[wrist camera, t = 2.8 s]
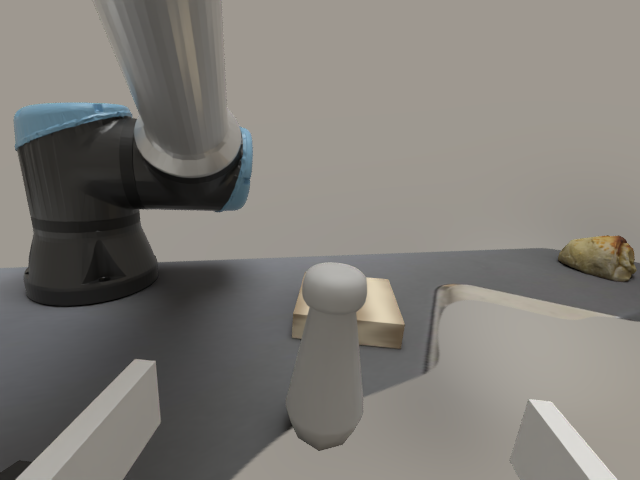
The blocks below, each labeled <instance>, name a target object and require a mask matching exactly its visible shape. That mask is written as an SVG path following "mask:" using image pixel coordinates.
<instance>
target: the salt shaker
mask: <svg viewBox="0 0 640 480" xmlns="http://www.w3.org/2000/svg"><path fill="white" fill-rule="evenodd" d="M302 295H303V299H304V301H305V302H306V304H307V306H309V311H308V315H307V319H306V323H305V327H304V331H303V335H302V339H301V343H300V347H299V351H298V355H297V359H296V363H295V367H294V371H293V374H292V378H291V382H290V386H289V390H288V394H287V397H286V408H287V412H288V415H289V418H290V421H291V423H292V425H293V428H294V430H295V432H296V434H297V436H298V438H300V439H301V440H303V441H304V442H306V443H307V444H309V445H311V446H312V447H314V448H315V449H317V450H318V451H320V450H324V449H328V448H331V447H335V446H339V445H342V444H343V443H344V442H345V441H346V440H347V438H348V437H349V436H350V435H351V433H352V432H353V431H354V429H355V428H356V426H357V424H358V423H359V421H360V419H361V417H362V414H363V390H362V377H361V365H360V352H359V340H358V327H357V315H356V312H357V311H358V310H359V309H360V308H362V307H363V305H364V303H365V302H366V297H367V279H366V276H365V275H364V274H363V273H362V272H361V271H359V270H358V269H357V268H355V267H353V266H350V265H347V264H341V263H328V262H327V263H320V264H317V265H314V266H312V267H311V268H310V269H308V270H307V271H306V274H305V276H304V280H303V284H302Z"/></svg>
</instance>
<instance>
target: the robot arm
mask: <svg viewBox="0 0 640 480" xmlns="http://www.w3.org/2000/svg"><path fill="white" fill-rule="evenodd" d="M92 1H93V3H94V5H95V8H96V10H97V13H98V15H99V18H100V20H101V22H102V25H103V27H104V29H105V32H106V34H107V37H108V39H109V42H110V44H111V46H112V49H113V51H114V53H115V56H116V58H117V61H118V63H119V66H120V68H121V71H122V73H123V75H124V77H125V80H126V82H127V85H128V87H129V90H130V92H131V95H132V97H133V99H134V102H135V104H136V107H137V109H138V111H139V116H138V118H137V119H133V118H132V114H131V112H130V110H129V109H128V108H127V107H126V106H122V105H116V104H105V103H104V104H103V103H98V104H97V103H47V104H36V105H30V106H26V107H23V108H21V109H20V110H18V111H17V112H16V114H15V116H14V130H15V141H16V144H15V150H16V151H17V152H18V156H19V162H20V166H21V171H22V176H23V181H24V186H25V191H26V196H27V201H28V205H29V211H30V215H31V220H32V225H33V231H34V235H33V240H32V245H31V250H30V255H29V267H28V268H27V269H26V271H25V274H24V283H25V288H26V293H27V296H28V297H29V298H30V299H31V300H33V301H36V302H38V303H42V304H48V305H61V306H69V305H84V304H92V303H99V302H104V301H109V300H113V299H117V298H121V297H124V296H127V295H130V294H133V293H135V292H138V291H140V290H142V289H144V288H146V287H147V286H149V285H150V284H152V283H153V282H154V281H155V280H156V279H157V277H158V264H157V259H156V256H155V255H154V254H153V251H152V249H151V246H150V244H149V242H148V240H147V238H146V236H145V233H144V232H143V229H142V227H141V223H140V213H139V209H164V210H205V211H215V212H222V211H233V210H238V209H240V208H242V207H243V206H244V204H245V203H246V200H247V197H248V193H249V188H250V177H251V172H252V156H253V150H252V149H253V147H252V137H251V134H250V132H249V131H248V130H247V129H245V128H242V127H240V126H239V124H238V121H237V120H236V118H235V116H234V115H233V114H232V113H231V111H230V110H229V109H228V108H227V99H226V79H225V61H224V60H225V59H224V41H223V20H222V1H221V0H92ZM160 423H161V418H160V406H159V395H158V383H157V371H156V361H150V360H140V359H134V360H133V361H132V362H131V363H130V364H129V365H128V366H127V367H126V369H125V370H124V371H123V372H122V373H121V374H120V375H119V376H118V377H117V378H116V379H115V380H114V381H113V382H112V383H111V384H110V385H109V386H108V387H107V388H106V389H105V390H104V391H103V392H102V393H101V394H100V395H99V396H98V397H97V398H96V399H95V400H94V401H93V402H92V403H91V404H90V405H89V406H88V407H87V408H86V409H85V410H84V411H83V412H82V413H81V414H80V415H79V416H78V417H77V418H76V419H75V420H74V421H73V422H72V423H71V424H70V425H69V426H68V427H67V428H66V429H65V430H64V431H63V432H62V433H61V434H60V435H59V436H58V437H57V438H56V439H55V440H54V441H53V442H52V443H51V444H50V445H49V446H48V447H47V448H46V449H45V450H44V451H43V452H42V453H41V454H40V455H39V456H38V457H37V458H36V459H35V460H34V461H33V462H27V461H17V462H16V463H14V464H13V465H11V466H10V467H8V468H7V469H5V470H4V471H2V472H1V473H0V480H123V479H124V477H125V476H126V474H127V473H128V471H129V470H130V468H131V467H132V465H133V464H134V462H135V461H136V459H137V458H138V456H139V455H140V453H141V452H142V450H143V449H144V447H145V446H146V444H147V443H148V441H149V440H150V438H151V437H152V435H153V434H154V432H155V431H156V429H157V428H158V426H159V424H160ZM510 463H511V464H512V466H513V468H514V470H515V472H516V473H517V475H518V477H519V479H520V480H617V479H616V477H615V476H614V475H613V474H612V473H611V472H610V470H609V469H608V468H607V467H606V466H605V464H604V463H603V462H602V461H601V460H600V459H599V457H598V456H597V455H596V454H595V453H594V451H593V450H592V449H591V448H590V447H589V445H588V444H587V443H586V442H585V441H584V440H583V438H582V437H581V436H580V435H579V434H578V433H577V431H576V430H575V429H574V428H573V427H572V425H571V424H570V423H569V422H568V421H567V419H566V418H565V417H564V416H563V415H562V414H561V412H560V411H559V410H558V409H557V408H556V407H555V405H554V404H553V403H552V402H551V401H541V400H531V399H529V400H528V402H527V405H526V409H525V412H524V415H523V419H522V422H521V425H520V429H519V432H518V435H517V438H516V442H515V445H514V448H513V452H512V455H511V458H510Z"/></svg>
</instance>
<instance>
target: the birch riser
mask: <svg viewBox="0 0 640 480" xmlns="http://www.w3.org/2000/svg"><path fill="white" fill-rule="evenodd" d="M305 274H306V272H305ZM305 274H304V276H305ZM366 279H367V297H366V302H365V303H364V305H363V307H362V308H360V309H359V310H358V311H357V312H356V315H357V327H358V340H359V345H368V346H378V347H388V348H398V349H401V344H402V338H403V332H404V326H405V324H404V321H403V318H402V316H401V313H400V310H399V307H398V305H397V302H396V299H395V296H394V294H393V291H392V288H391V285H390V283H389V280H387V279H376V278H366ZM303 280H304V278H303ZM302 284H303V281H302ZM308 311H309V306H307V304H306V302H305V301H304V299H303V295H302V285H301V288H300V292H299V295H298V299H297V302H296V306H295V309H294V313H293V328H292V338H298V339H302V335H303V331H304V327H305V323H306V319H307V315H308Z"/></svg>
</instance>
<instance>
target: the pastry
mask: <svg viewBox="0 0 640 480" xmlns="http://www.w3.org/2000/svg"><path fill="white" fill-rule="evenodd" d="M558 260H559V261H560V262H562V263H563V264H566V265H568V266H570V267H573V268H575V269H577V270H580V271H582V272H583V273H586V274H591V275H594V276H597V277H601V278H605V279H608V280H614V281H618V282H625V281H628V280H629V279H630V278H631V275H632V274H634V273H635V272H636V267H635V265H634V264H633V263H634V260H635V259H634V251H633V248H631V247H630V245H629V244H628V243H627V241H626V240H625V239H624V238H623V237H621V236H599V237H591V238H582V239H576V240H571V241H570V242H569V244H567V246H565V247H564V248H563V249H562V251H561V252H560V253H559V256H558Z"/></svg>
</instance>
